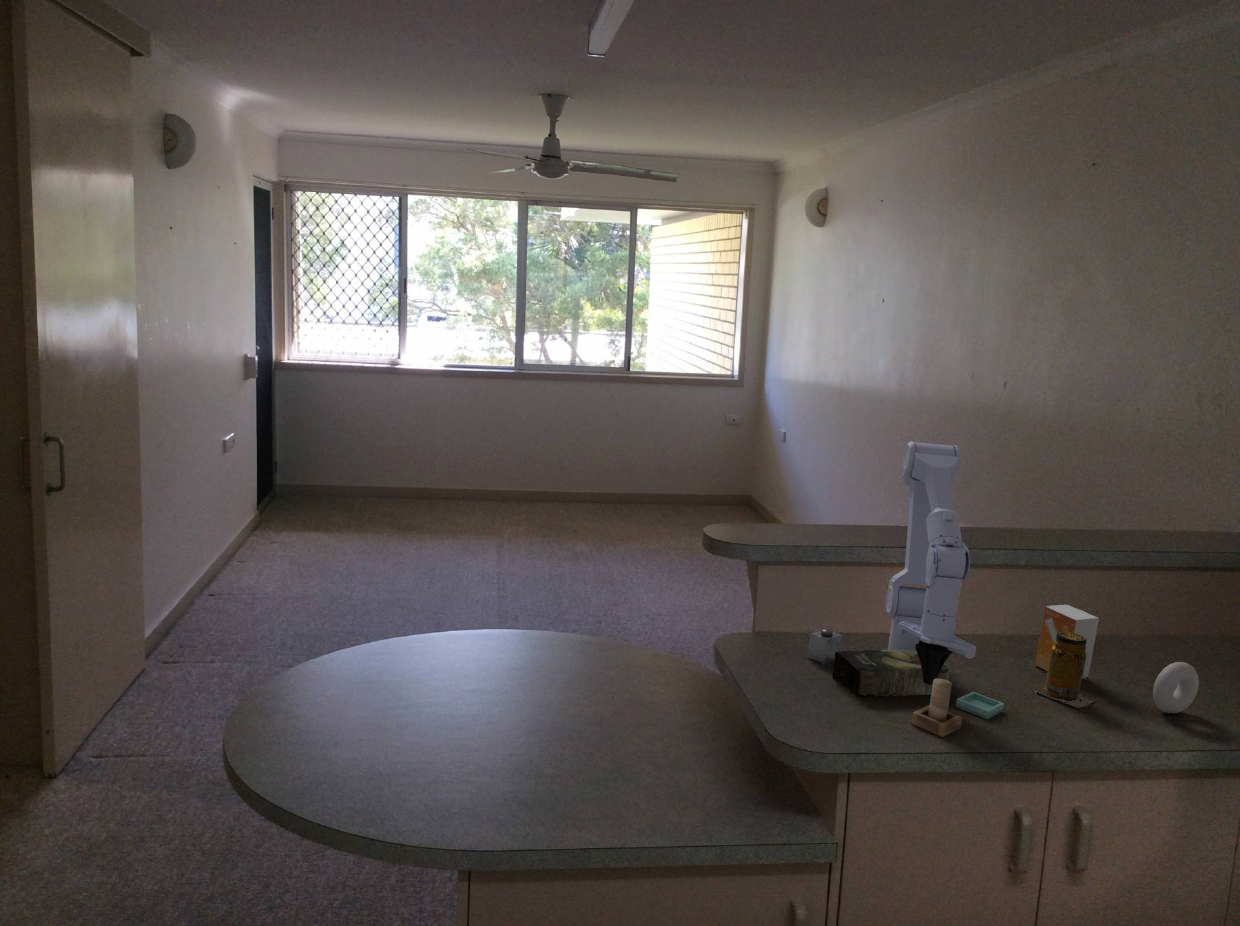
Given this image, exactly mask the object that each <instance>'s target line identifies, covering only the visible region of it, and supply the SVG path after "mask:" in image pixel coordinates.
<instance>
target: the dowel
mask: <svg viewBox="0 0 1240 926" xmlns="http://www.w3.org/2000/svg"><path fill="white" fill-rule="evenodd" d="M952 685H953V683H952V682H951V681H948V680H945V679H934V680H933V686H932V693H931V695H930V699H929V705H930V706H929V712H928V717H930V718H933V719H935V720H937V721H940V722H942V723H943V722H945V721H946V718H947V711H948V710H949V703H950V697H951V691H952ZM948 712H949V711H948Z"/></svg>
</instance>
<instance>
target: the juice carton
mask: <svg viewBox="0 0 1240 926" xmlns="http://www.w3.org/2000/svg"><path fill="white" fill-rule="evenodd" d="M949 672H950V667H949V666H948V665H947V664H946V663H944V664H943V666H942V668H941V670H940V672H939V674H938V676H937V679H945V680H948V681H949V680H950V679H949V675H950V674H949ZM831 673H832V675H831V676H832V679H833V680H835V678H850V677H851V678H854V677H855V679H854V683H853V685H852V686H851V687H852V690H853V693H855V694H856V695H857V697H859V695H863V697H866V696H868V695H872V696H874V697H876V698H877V697H878V696H879V697H890V696H891V697H899V696H900V697H901V696H902V697H906V696H916V695H917V696H919V695H920V696H921V695H930V696H931V693H932V686H933V684H931V685H929V684H926V683H924V682H923V674H922V667H921V663H920V659H919V656H918V654H917V651H916V650H888V649H863V650H840V651H838V652H835V659H834V661H833V668H832V672H831Z"/></svg>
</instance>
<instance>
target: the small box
mask: <svg viewBox="0 0 1240 926" xmlns="http://www.w3.org/2000/svg"><path fill="white" fill-rule="evenodd" d="M1042 619H1043V620H1042V624H1041V629H1040V635H1039V638H1038V645H1037V650H1036V657H1035V662H1034V663H1035V664H1034V666H1035V665H1036V666H1039V667H1041V668H1043V669H1044V670H1046V671H1048V667H1049V666H1048V665H1049V662H1050V655H1051V650H1052V647H1053V646H1054V645H1055V641H1056V635H1057V633H1059V632H1071V633H1075V634H1078V635H1081V636H1083V637H1084V638H1085V639H1086V640H1087V643H1086V650H1085V653H1086V661H1085V667H1084V672H1083V677H1082V678H1084V677H1088V678H1089V674H1090V669H1091V664H1092V658H1093V653H1094V647H1095V641H1096V637H1097V632H1098V626H1099V620H1100V618H1099V617H1098V616H1095V615H1092V614H1090V613H1088V612H1086V611H1084V610H1081V609H1080V608H1076V607H1074V606H1071V605H1069V604H1058V605H1057V604H1055V605H1046V606H1045V607H1044V613H1043V617H1042ZM1036 666H1035V667H1036ZM1044 670H1043V671H1044ZM1046 671H1045V672H1046Z"/></svg>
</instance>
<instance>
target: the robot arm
mask: <svg viewBox="0 0 1240 926" xmlns="http://www.w3.org/2000/svg"><path fill="white" fill-rule="evenodd" d="M961 456H962V455H961V450H960V448H959V446H958V445H956V444H952V445H950V444H940V443H939V444H938V443H937V444H935V443H928V442H918V441H916V442H915V441H913V440H910V441H908V442H907V443H906V444H905V446H904V450H903V453H902V460H901V461H902V462H901V482H902V484H904V485H906V486H907V487H908V489H909V505H908V518H907V519H908V520H907V531H906V532H907V533H906V546H905V547H906V548H905V558H904V559H905V561H904V569H902V570H901V571H898V573H896V574H894V575H893V576H892V577H890V579H889V581H888V589H887V592H886V596H885V610H886V613H887V614H888V616H889V617H891V625H890V632H889V639H888V646H887V650H916V651H917V654H918V656H919V659H920V663H921V667H922V674H923V682H924V683H926V684H929V685H931V684H933V680H934V679H937V676H938V674H939V672H940V670H941V668H942V666H943V664H946V661H947V660H948V659H949V658H950V656H951V655H952V654H953V653H956V654H959V655H962V656H964V658H966V659H969V660H970V659H971V660H972V659H973V658H975V657H976V652H977V646H976V645H973V644H971V643H969V642H967V641H965V640H963V639H961V638H959V637H957V635H956V636H955V626H956V620H957V615H958V608H959V602H960V594H961V589H962V583H963V581H964V580H966V579H967V578H968V574H969V571H970V565H971V564H970V563H971V562H970V561H971V557H970V551H969V548H968V547H967V545H966V542H964V541H963V540H962V533H961V532H962V531H961V525H960V524H961V523H960V517H959V515H958V514H957V513H956V512H955V511H953V510H952V482H954V481H955V478H956V476H957V474H958V473H959V470H960V467H961V461H962V460H961V458H962V457H961ZM961 579H962V580H961ZM903 585H913V587H912V586H903ZM914 586H923V587H924V586H925V587H926V588H925V587H924V588H923V587H914Z"/></svg>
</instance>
